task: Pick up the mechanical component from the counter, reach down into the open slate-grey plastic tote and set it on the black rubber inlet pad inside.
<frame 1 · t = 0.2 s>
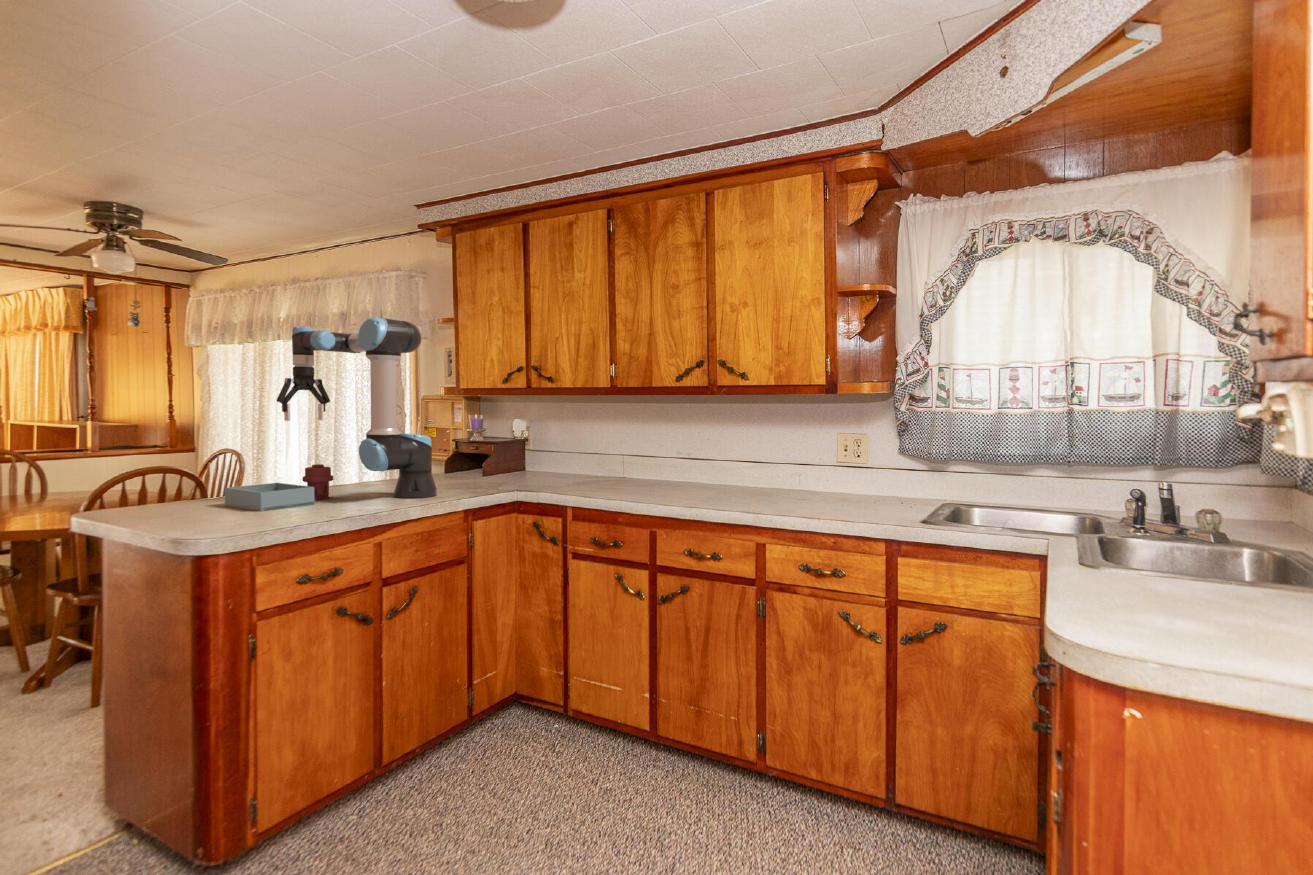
hand: (304, 420, 270), 28 cm above the counter, tool pointing down, fingers open, 13 cm apart
tote: (270, 504, 232), on the counter
mechanical component: (318, 499, 248), on the counter
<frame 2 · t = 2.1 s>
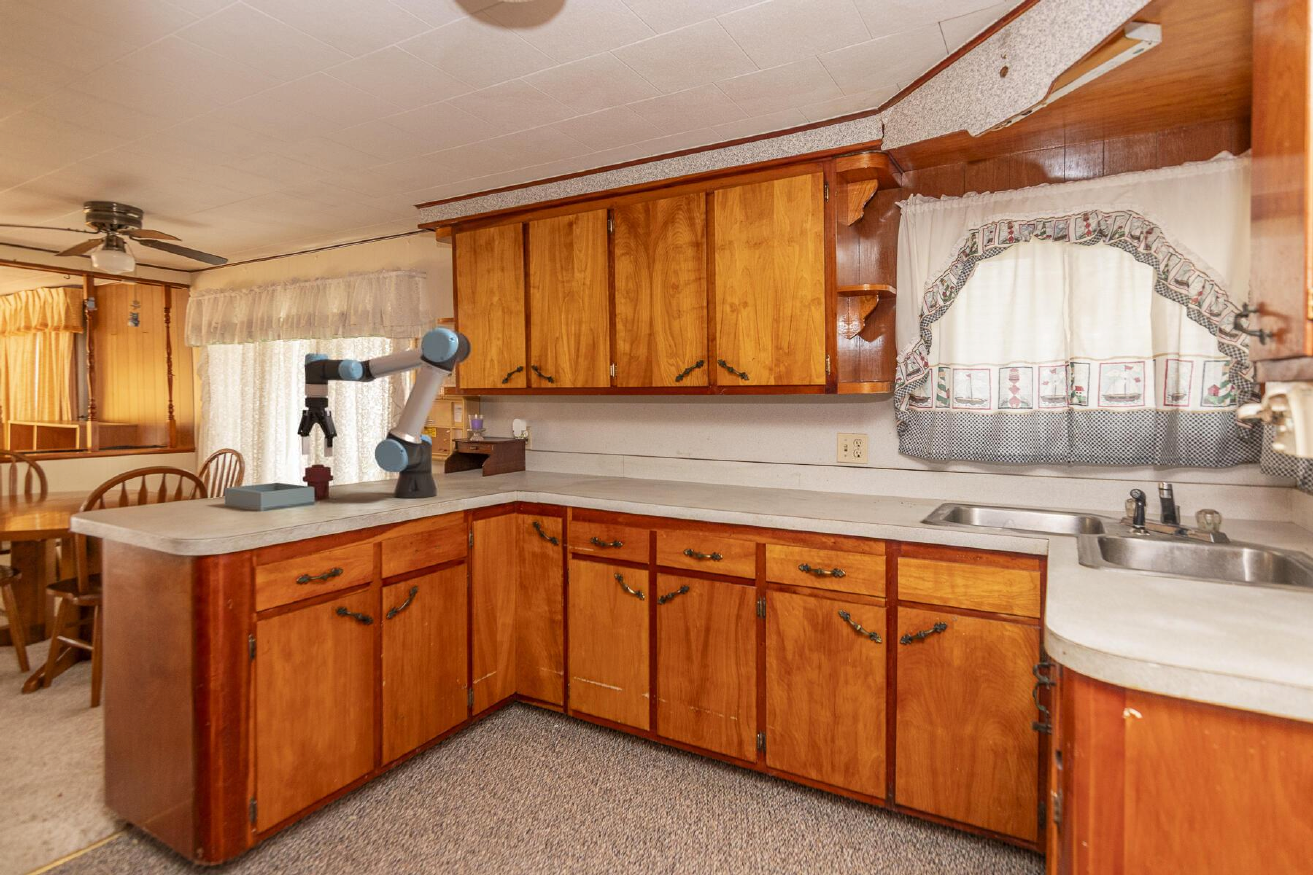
hand: (317, 455, 247), 16 cm above the counter, tool pointing down, fingers open, 13 cm apart
nothing on the counter moved.
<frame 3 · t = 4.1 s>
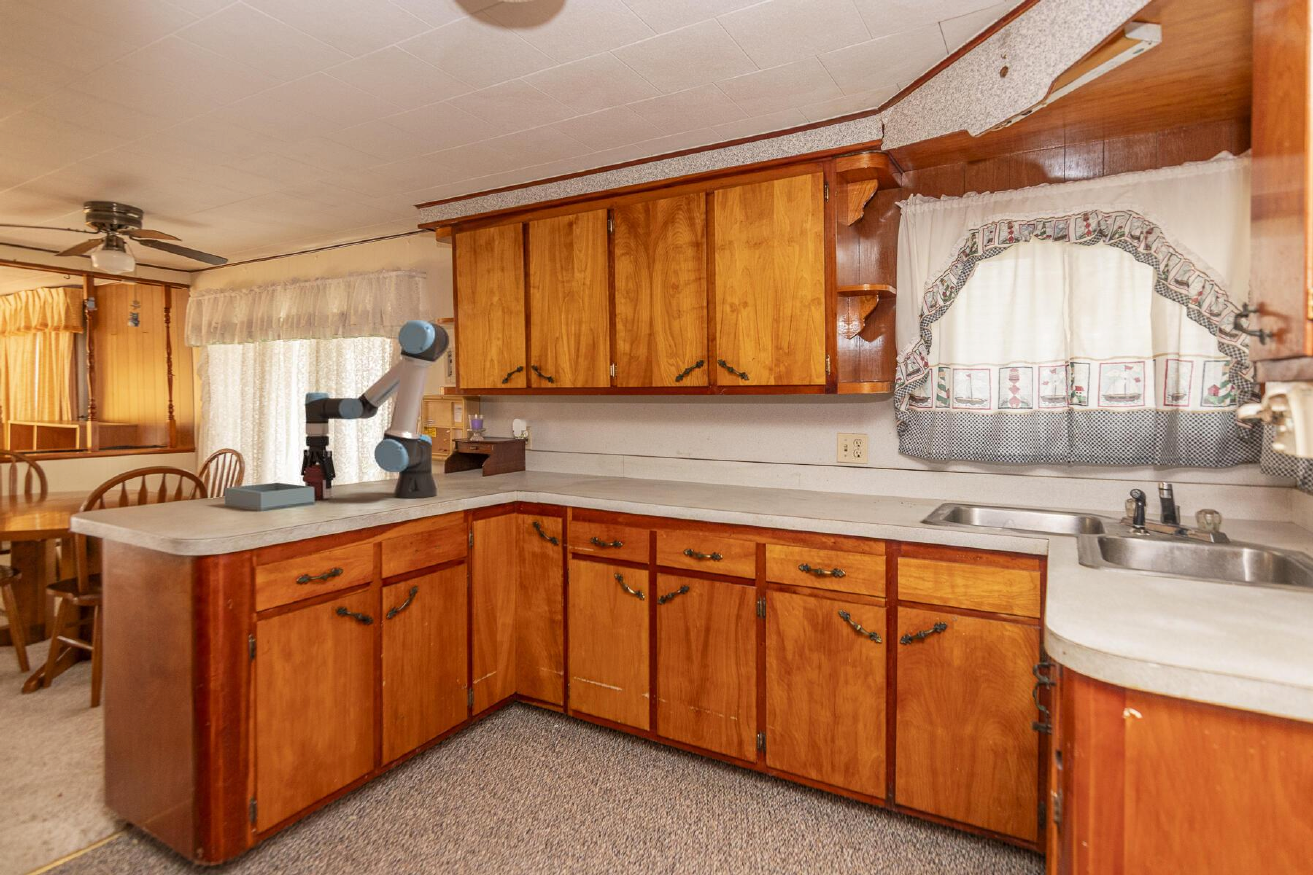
hand: (318, 496, 248), 1 cm above the counter, tool pointing down, fingers closed on mechanical component, 10 cm apart
mechanical component: (318, 499, 248), on the counter, touching gripper
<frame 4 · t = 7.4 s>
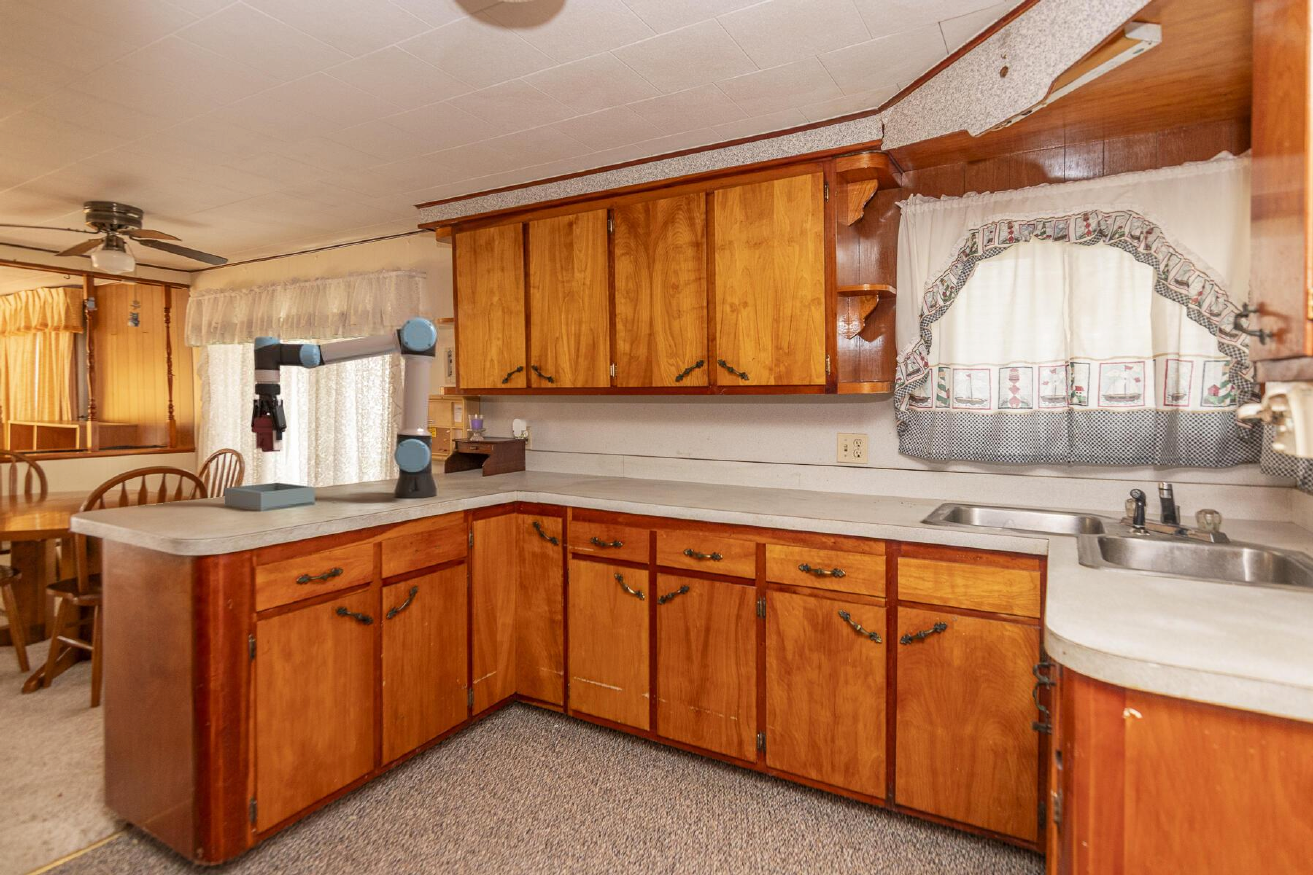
hand: (269, 449, 231), 19 cm above the counter, tool pointing down, fingers closed on mechanical component, 10 cm apart
mechanical component: (269, 452, 231), point 18 cm above the counter, touching gripper
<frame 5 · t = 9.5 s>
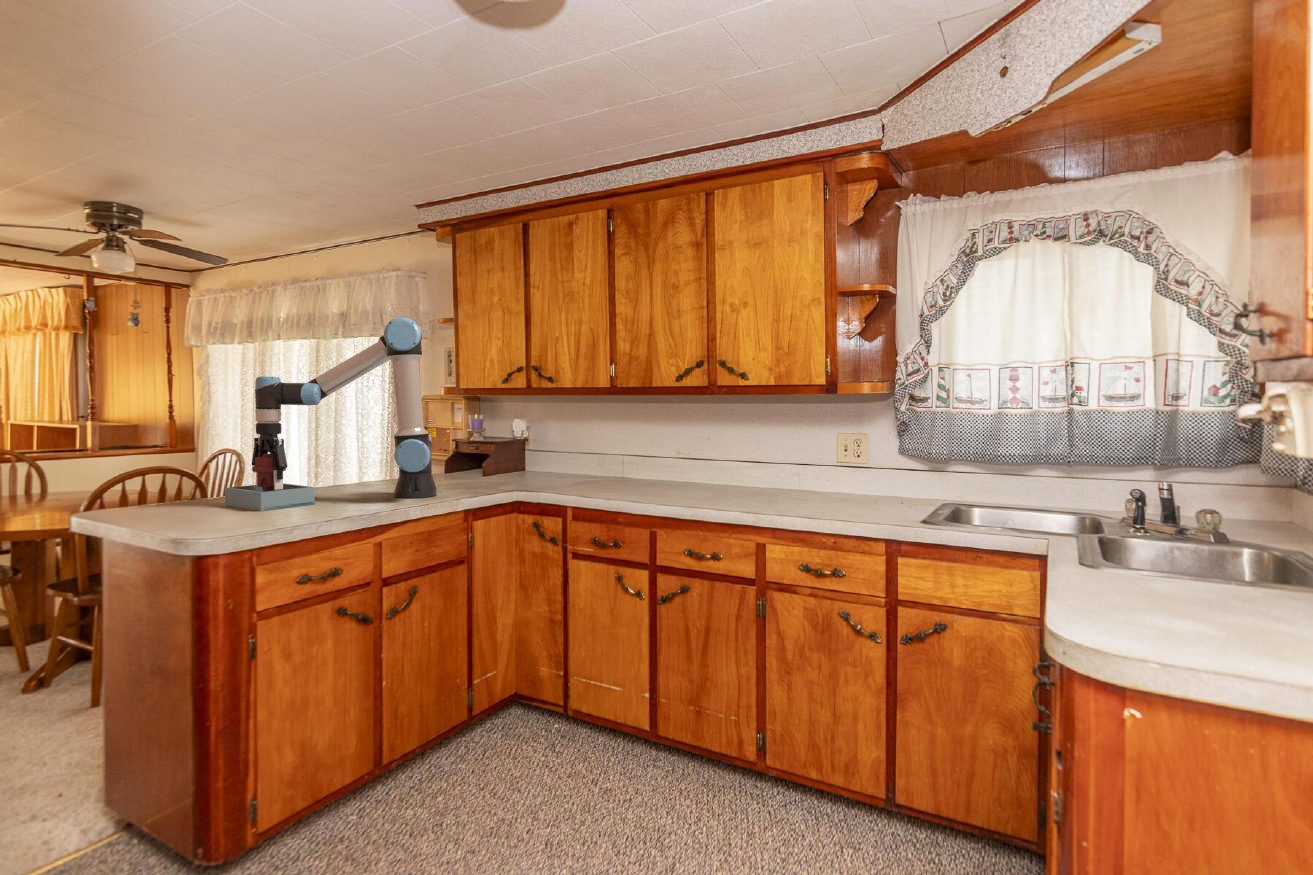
hand: (269, 488, 232), 6 cm above the counter, tool pointing down, fingers closed on mechanical component, 10 cm apart
mechanical component: (269, 490, 232), point 5 cm above the counter, touching gripper
when the fingers open (4 cm above the counter, at t = 10.9 s): mechanical component drops 2 cm, resting on tote.
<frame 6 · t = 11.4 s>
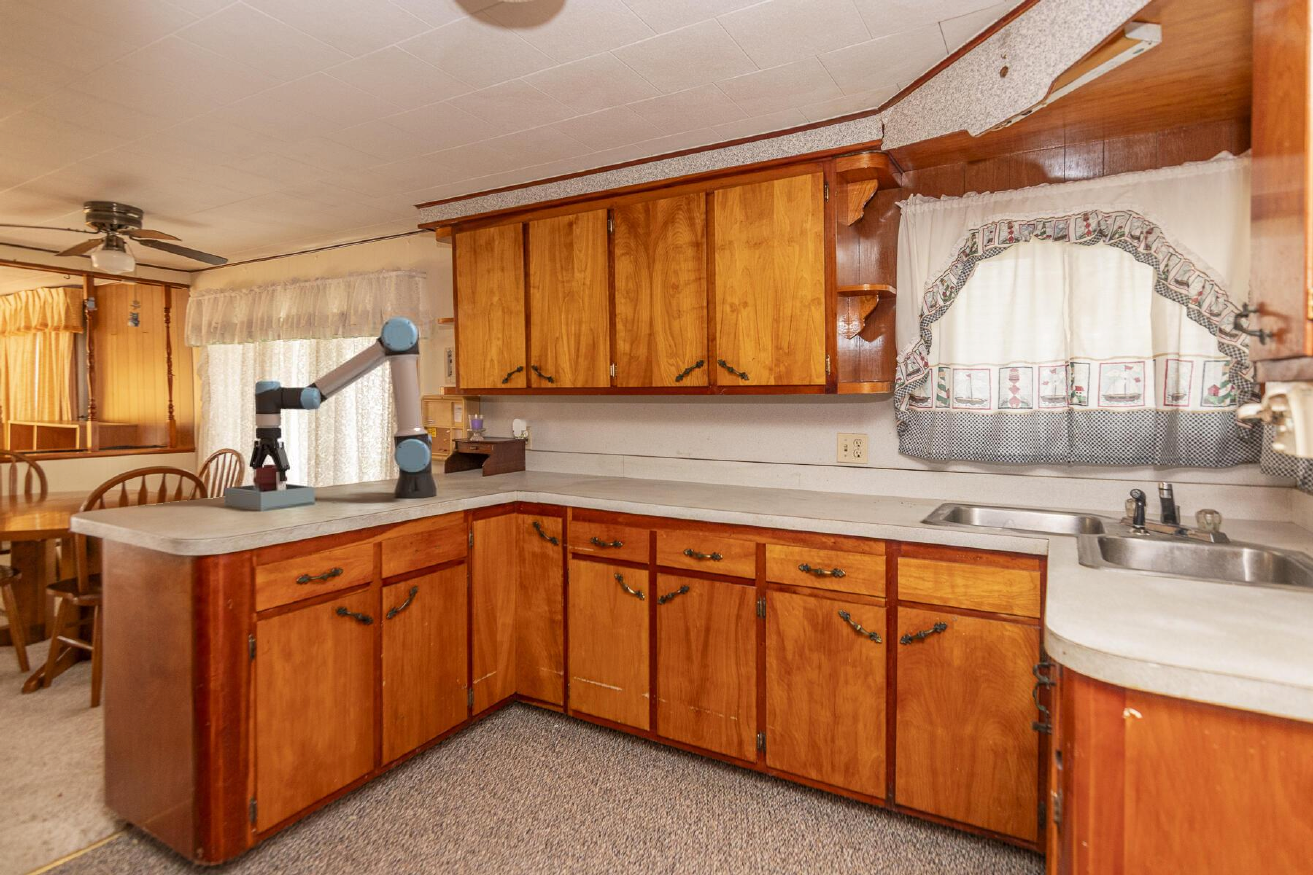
hand: (269, 489, 232), 5 cm above the counter, tool pointing down, fingers open, 13 cm apart
mechanical component: (270, 501, 232), point 1 cm above the counter, touching tote
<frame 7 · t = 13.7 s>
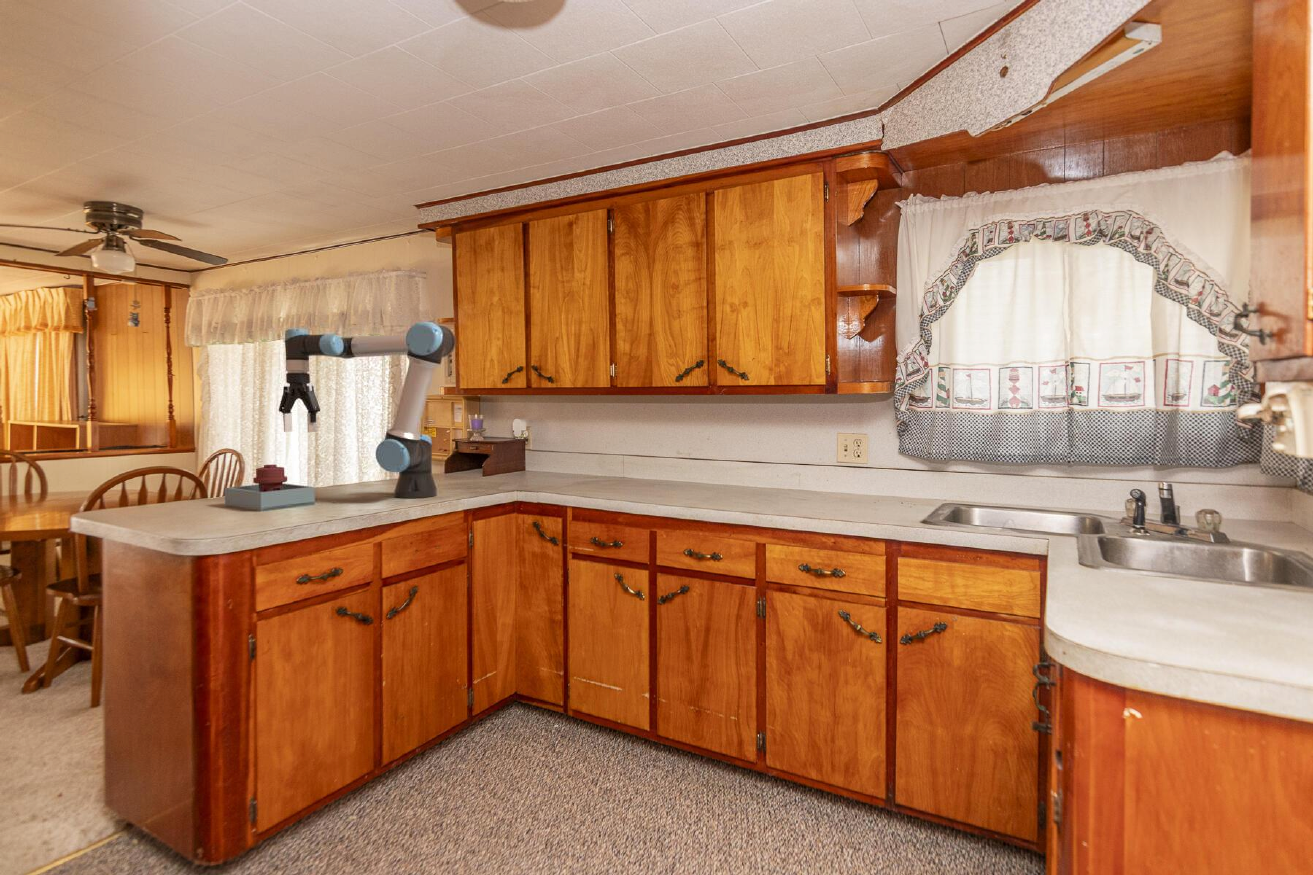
hand: (299, 431, 246), 24 cm above the counter, tool pointing down, fingers open, 13 cm apart
nothing on the counter moved.
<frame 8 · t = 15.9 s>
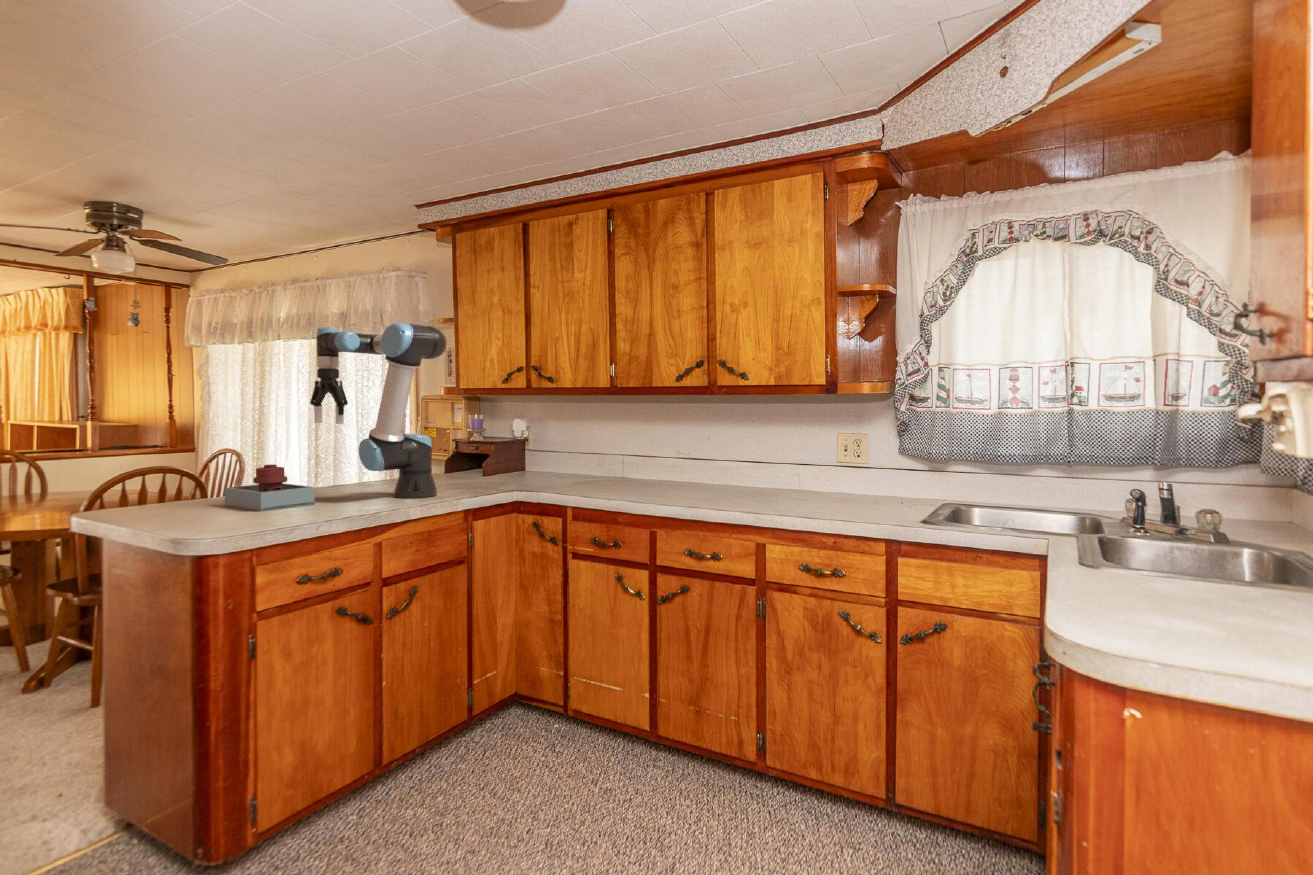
hand: (329, 423, 264), 27 cm above the counter, tool pointing down, fingers open, 13 cm apart
nothing on the counter moved.
at the end: mechanical component inside the target area on the tote (0.4 cm from its centre), point 1.1 cm above the tote's base; mechanical component tilted 0°; the gripper is holding nothing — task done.
